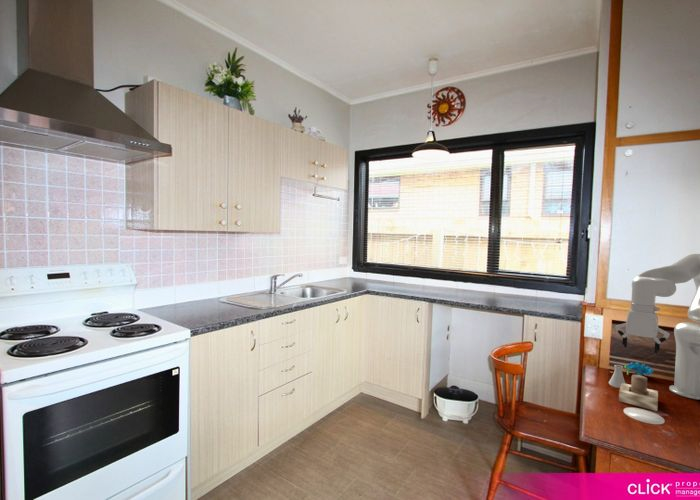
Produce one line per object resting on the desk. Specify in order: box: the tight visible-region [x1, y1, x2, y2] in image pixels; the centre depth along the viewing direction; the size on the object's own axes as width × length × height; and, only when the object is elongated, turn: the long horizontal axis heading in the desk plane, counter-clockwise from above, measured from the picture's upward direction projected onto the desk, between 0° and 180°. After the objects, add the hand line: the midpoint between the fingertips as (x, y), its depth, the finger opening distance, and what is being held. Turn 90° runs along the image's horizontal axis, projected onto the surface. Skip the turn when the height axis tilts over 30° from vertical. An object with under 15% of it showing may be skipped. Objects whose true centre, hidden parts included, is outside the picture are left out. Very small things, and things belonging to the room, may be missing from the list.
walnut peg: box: [630, 374, 648, 395], centre depth 145 cm, size 5×5×10 cm
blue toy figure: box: [623, 362, 654, 376], centre depth 174 cm, size 11×6×10 cm
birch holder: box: [618, 382, 659, 412], centre depth 145 cm, size 12×12×5 cm
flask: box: [608, 364, 627, 389], centre depth 161 cm, size 7×7×10 cm
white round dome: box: [623, 407, 666, 425], centre depth 133 cm, size 12×12×1 cm
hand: (640, 349), depth 145 cm, fingers open, 9 cm apart
